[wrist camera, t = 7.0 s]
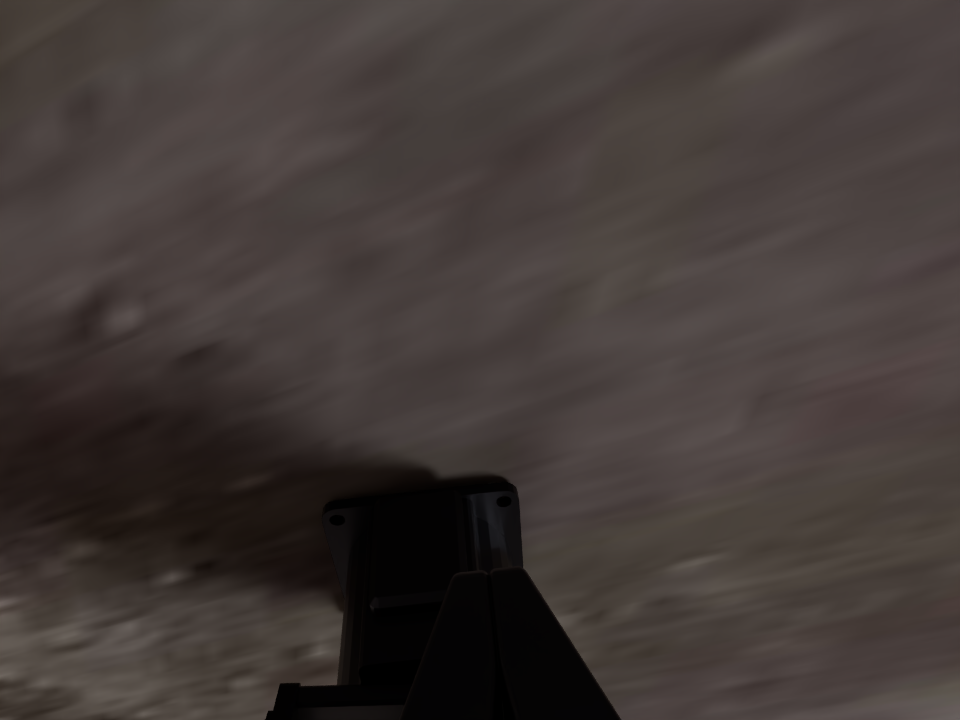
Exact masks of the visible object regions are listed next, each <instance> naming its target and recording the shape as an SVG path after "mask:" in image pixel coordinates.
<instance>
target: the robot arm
mask: <svg viewBox="0 0 960 720" xmlns="http://www.w3.org/2000/svg"><path fill="white" fill-rule="evenodd" d="M502 496H507V498H504V499H501V498H499V497H502ZM334 515H341V516H340V517H338V516H334ZM322 523H323V527H324V530H325V534H326V537H327V541H328V544H329V548H330V551H331V555H332V558H333V562H334V565H335V569H336V572H337V575H338V579H339V582H340V586H341V589H342V593H343V596H344V600H345V602H344V613H343V624H342V635H341V646H340V657H339V668H338V679H337V685H328V686H301V684H300V683H280V686H279V689H278V693H277V697H276V701H275V705H274V710H273V711H268V713H267V716H266V719H265V720H621V719H620V717H619V715H618V714H617V712H616V711H615V709H614V708H613V706H612V704H611V703H610V701H609V700H608V698H607V697H606V695H605V694H604V692H603V690H602V689H601V687H600V686H599V684H598V683H597V681H596V679H595V678H594V676H593V675H592V673H591V672H590V670H589V669H588V667H587V665H586V664H585V662H584V661H583V659H582V658H581V656H580V654H579V653H578V651H577V650H576V648H575V647H574V645H573V644H572V642H571V640H570V639H569V637H568V636H567V634H566V633H565V631H564V629H563V628H562V626H561V625H560V623H559V622H558V620H557V619H556V617H555V615H554V614H553V612H552V611H551V609H550V608H549V606H548V604H547V603H546V601H545V600H544V598H543V597H542V595H541V593H540V592H539V590H538V589H537V587H536V586H535V584H534V583H533V581H532V579H531V578H530V576H529V575H528V573H527V572H526V571H525V570H524V569H523V556H522V540H521V524H520V508H519V497H518V491H517V489H516V487H515V486H514V485H513V484H510V483H508V482H500V483H491V484H482V485H473V486H464V487H454V488H445V489H436V490H427V491H418V492H409V493H400V494H391V495H382V496H372V497H363V498H354V499H345V500H336V501H332V502H329V503H328V504H326V505H325V507H324V508H323V515H322Z"/></svg>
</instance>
